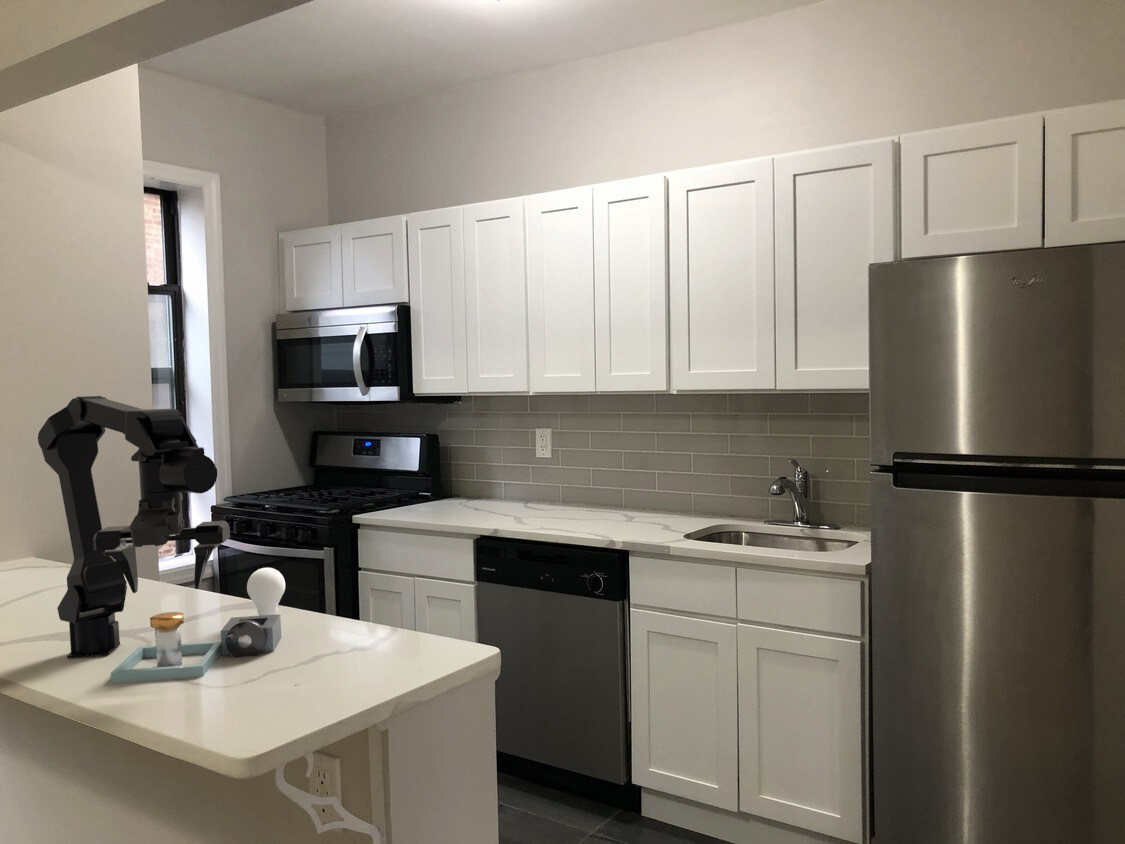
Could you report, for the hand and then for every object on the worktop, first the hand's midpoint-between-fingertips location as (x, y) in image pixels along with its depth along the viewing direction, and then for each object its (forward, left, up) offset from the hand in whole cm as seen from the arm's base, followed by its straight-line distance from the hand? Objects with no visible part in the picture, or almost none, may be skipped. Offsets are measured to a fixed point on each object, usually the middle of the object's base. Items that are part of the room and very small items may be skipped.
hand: (166, 590), depth 141 cm
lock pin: (0, 0, -12) cm, 12 cm away
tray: (0, 0, -13) cm, 13 cm away
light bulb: (+11, +22, -13) cm, 28 cm away
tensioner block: (+11, +8, -13) cm, 18 cm away
